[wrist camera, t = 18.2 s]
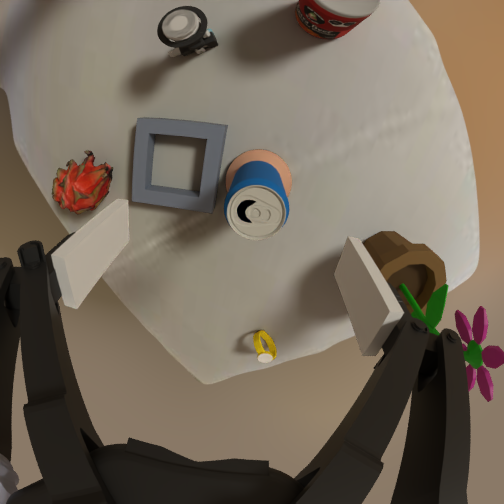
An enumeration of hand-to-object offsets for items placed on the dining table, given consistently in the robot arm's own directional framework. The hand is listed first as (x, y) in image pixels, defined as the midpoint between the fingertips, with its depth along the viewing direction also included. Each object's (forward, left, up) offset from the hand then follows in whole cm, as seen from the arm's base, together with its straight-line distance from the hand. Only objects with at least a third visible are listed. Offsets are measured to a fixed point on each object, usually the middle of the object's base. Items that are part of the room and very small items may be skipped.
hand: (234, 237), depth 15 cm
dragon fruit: (+5, -24, -23) cm, 34 cm away
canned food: (-24, +6, -23) cm, 34 cm away
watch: (+31, +9, -23) cm, 40 cm away
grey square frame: (+1, -10, -23) cm, 25 cm away
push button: (-16, -10, -23) cm, 30 cm away
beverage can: (+2, +2, -23) cm, 23 cm away
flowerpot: (+10, +25, -23) cm, 36 cm away
